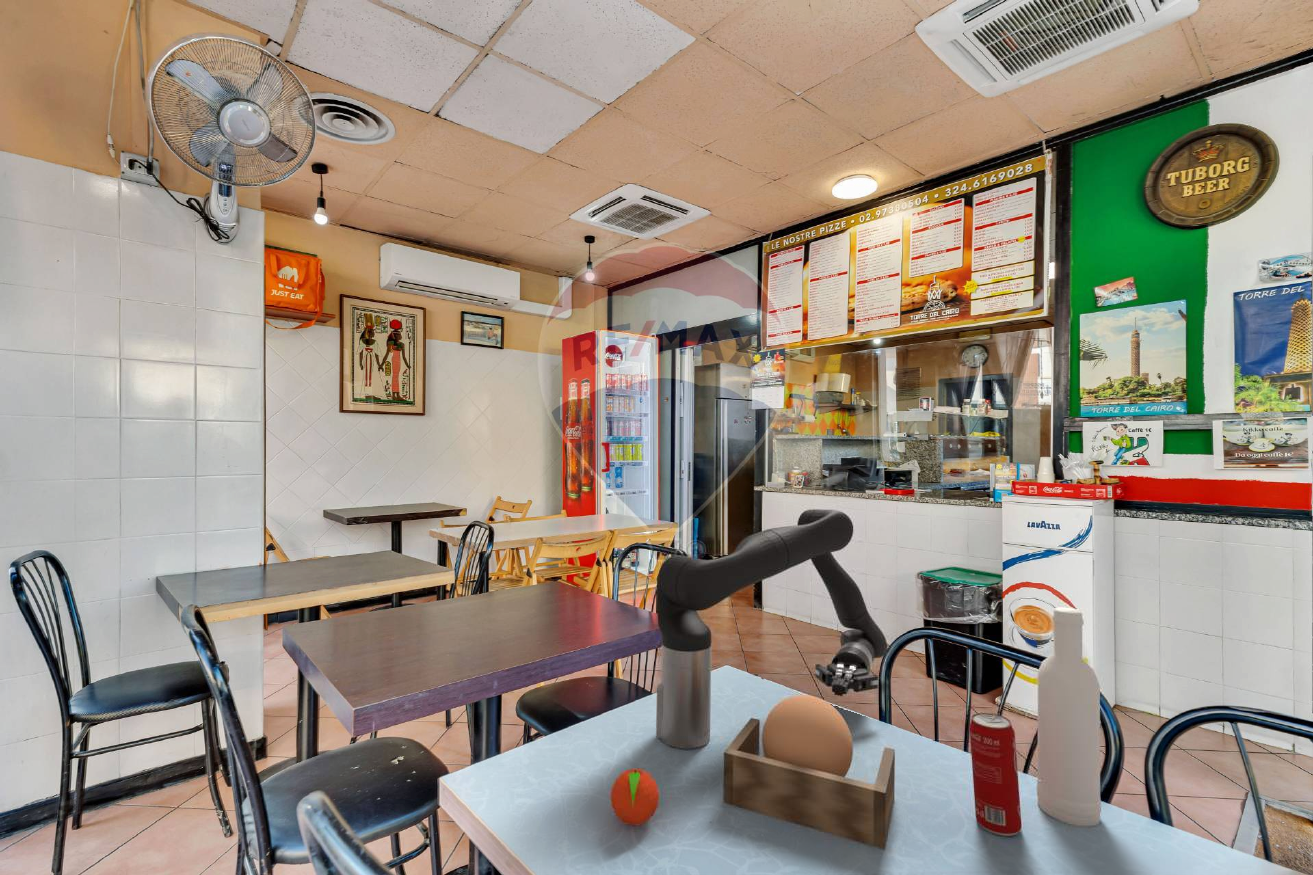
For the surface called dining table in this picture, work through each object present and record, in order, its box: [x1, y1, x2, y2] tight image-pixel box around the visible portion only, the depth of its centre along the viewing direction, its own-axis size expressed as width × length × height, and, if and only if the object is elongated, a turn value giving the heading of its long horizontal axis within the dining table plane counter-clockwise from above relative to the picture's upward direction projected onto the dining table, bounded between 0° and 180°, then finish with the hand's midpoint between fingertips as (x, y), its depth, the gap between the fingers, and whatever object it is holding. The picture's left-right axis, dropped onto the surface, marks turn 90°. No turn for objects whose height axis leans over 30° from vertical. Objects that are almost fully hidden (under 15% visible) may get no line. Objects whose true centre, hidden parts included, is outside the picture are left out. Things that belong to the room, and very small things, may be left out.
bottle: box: [1036, 606, 1102, 828], centre depth 90 cm, size 8×8×30 cm
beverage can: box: [969, 712, 1023, 837], centre depth 86 cm, size 6×6×15 cm
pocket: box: [722, 717, 896, 850], centre depth 92 cm, size 23×14×8 cm, turn 63°
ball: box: [761, 694, 854, 777], centre depth 95 cm, size 14×14×14 cm
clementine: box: [610, 768, 660, 826], centre depth 85 cm, size 8×7×7 cm
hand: (838, 690), depth 114 cm, fingers closed
